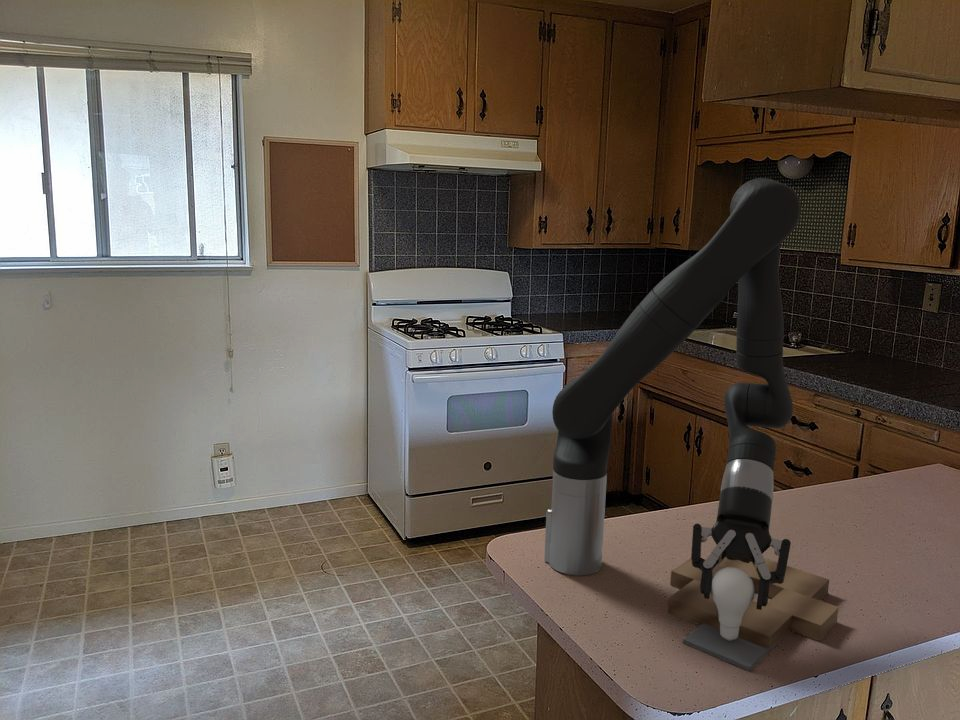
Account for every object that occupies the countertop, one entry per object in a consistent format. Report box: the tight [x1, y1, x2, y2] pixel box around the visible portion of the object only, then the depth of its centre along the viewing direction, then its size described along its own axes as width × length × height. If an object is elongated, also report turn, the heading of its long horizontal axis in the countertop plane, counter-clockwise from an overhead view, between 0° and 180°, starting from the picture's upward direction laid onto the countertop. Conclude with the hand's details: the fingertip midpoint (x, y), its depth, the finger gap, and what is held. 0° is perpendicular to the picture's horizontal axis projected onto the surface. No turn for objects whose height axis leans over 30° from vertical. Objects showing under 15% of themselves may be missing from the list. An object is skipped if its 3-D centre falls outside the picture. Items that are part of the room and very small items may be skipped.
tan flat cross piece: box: [667, 557, 839, 653], centre depth 125 cm, size 24×24×2 cm
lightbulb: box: [710, 567, 756, 641], centre depth 112 cm, size 6×6×11 cm
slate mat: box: [682, 623, 777, 672], centre depth 113 cm, size 10×9×1 cm
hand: (732, 602), depth 110 cm, fingers open, 6 cm apart
